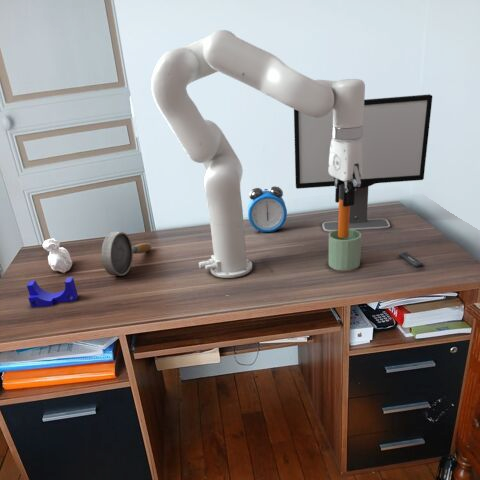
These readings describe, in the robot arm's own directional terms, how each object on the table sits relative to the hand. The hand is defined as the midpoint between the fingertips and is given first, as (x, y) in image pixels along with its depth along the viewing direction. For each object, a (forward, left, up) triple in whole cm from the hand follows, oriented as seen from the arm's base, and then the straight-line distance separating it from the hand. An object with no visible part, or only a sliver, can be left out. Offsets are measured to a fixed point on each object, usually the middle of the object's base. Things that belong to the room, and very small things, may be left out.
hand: (344, 202), depth 138 cm
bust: (-78, +42, -19) cm, 90 cm away
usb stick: (+17, -8, -19) cm, 27 cm away
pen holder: (0, 0, -19) cm, 19 cm away
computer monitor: (+20, +25, -19) cm, 38 cm away
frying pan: (-57, +33, -19) cm, 68 cm away
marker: (0, 0, -10) cm, 10 cm away
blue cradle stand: (-81, +19, -19) cm, 85 cm away
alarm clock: (-8, +38, -19) cm, 43 cm away
